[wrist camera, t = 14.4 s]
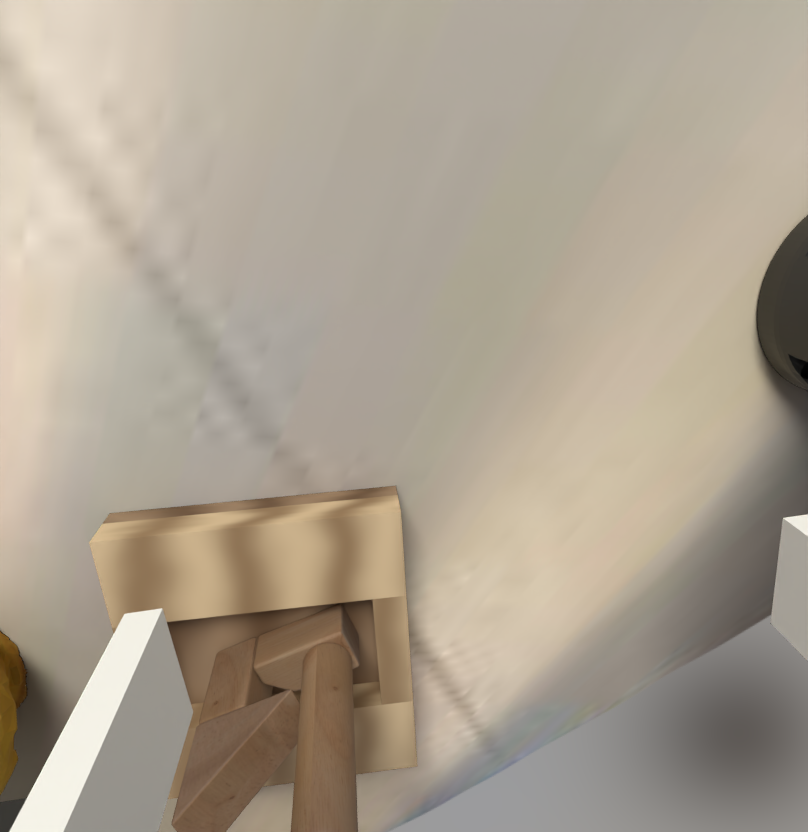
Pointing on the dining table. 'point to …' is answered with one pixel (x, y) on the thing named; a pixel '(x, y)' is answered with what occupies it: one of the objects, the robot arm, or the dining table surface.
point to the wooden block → (278, 727)
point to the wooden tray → (274, 596)
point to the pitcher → (9, 704)
